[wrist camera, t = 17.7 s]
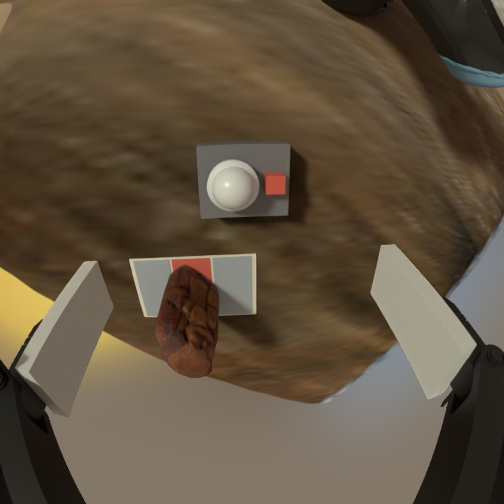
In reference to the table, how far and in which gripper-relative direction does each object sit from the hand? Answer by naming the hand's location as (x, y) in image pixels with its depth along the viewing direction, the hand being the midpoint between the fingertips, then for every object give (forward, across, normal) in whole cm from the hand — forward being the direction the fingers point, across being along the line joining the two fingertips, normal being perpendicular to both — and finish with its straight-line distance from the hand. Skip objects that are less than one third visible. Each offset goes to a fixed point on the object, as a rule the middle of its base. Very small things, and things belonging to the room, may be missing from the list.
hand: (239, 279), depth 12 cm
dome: (+26, -1, -3) cm, 26 cm away
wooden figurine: (+30, -8, -22) cm, 38 cm away
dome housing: (+31, +1, -3) cm, 31 cm away
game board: (+30, -9, -22) cm, 39 cm away
